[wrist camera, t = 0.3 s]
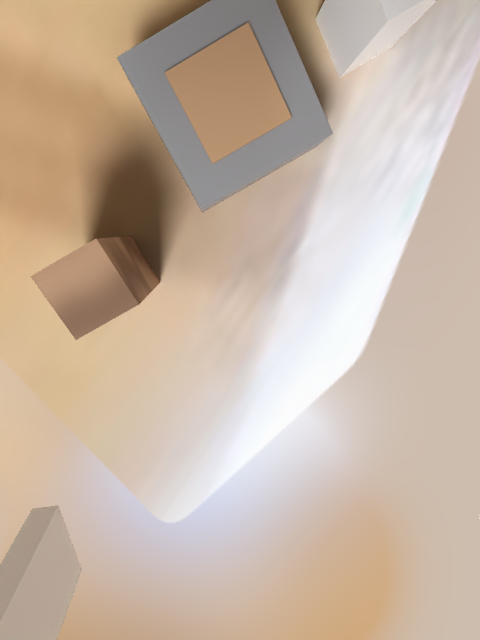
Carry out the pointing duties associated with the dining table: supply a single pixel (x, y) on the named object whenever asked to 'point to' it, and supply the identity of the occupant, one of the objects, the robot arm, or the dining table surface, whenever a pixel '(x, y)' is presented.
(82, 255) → the walnut block
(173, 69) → the base block
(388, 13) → the white block
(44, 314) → the dining table surface
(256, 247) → the dining table surface
